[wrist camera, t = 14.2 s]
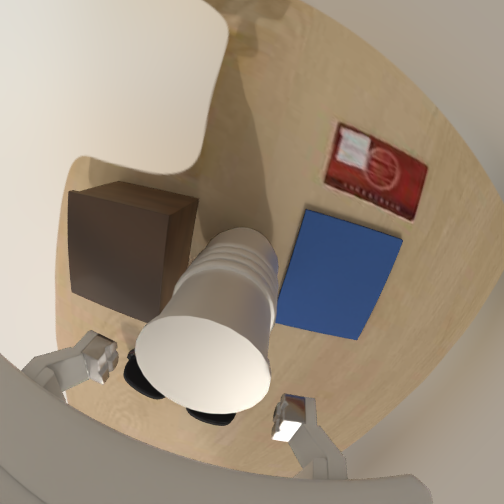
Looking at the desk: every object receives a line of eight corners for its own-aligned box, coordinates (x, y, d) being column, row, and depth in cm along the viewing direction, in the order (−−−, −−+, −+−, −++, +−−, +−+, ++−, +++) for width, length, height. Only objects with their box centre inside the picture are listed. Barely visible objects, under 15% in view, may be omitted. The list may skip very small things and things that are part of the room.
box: (116, 178, 24) (68, 191, 17) (201, 196, 24) (169, 215, 17) (111, 261, 28) (71, 292, 21) (186, 285, 28) (158, 327, 21)
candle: (193, 245, 26) (109, 341, 12) (254, 208, 24) (214, 288, 10) (232, 300, 28) (190, 422, 14) (292, 270, 26) (297, 396, 12)
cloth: (305, 208, 24) (306, 209, 23) (401, 239, 23) (403, 240, 23) (270, 319, 28) (270, 321, 28) (356, 338, 28) (357, 340, 27)
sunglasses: (287, 342, 29) (287, 374, 24) (237, 407, 34) (231, 435, 29) (147, 278, 28) (125, 301, 23) (128, 358, 33) (113, 382, 28)
